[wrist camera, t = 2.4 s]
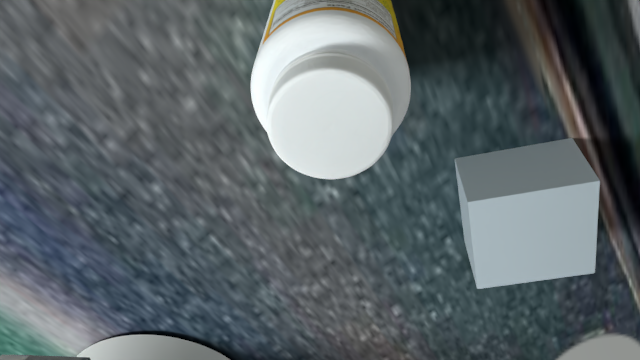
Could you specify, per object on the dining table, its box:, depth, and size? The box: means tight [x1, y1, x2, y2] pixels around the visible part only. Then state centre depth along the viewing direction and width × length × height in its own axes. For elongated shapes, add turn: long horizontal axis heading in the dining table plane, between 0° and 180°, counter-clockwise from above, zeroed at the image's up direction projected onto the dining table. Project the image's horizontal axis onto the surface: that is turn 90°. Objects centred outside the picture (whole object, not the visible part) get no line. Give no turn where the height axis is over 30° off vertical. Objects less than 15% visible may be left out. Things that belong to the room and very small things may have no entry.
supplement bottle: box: [251, 0, 411, 179], centre depth 21 cm, size 6×6×10 cm
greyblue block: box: [455, 138, 600, 289], centre depth 30 cm, size 6×6×4 cm
